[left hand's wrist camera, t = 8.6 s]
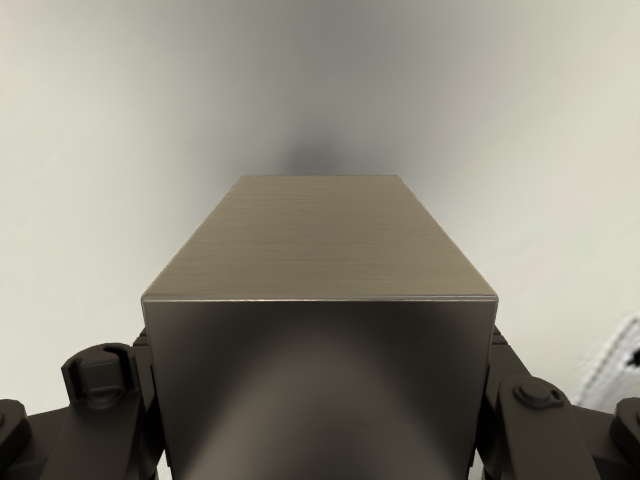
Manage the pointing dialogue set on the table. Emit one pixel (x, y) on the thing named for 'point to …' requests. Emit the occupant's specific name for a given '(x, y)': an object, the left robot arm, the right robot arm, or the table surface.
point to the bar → (319, 337)
